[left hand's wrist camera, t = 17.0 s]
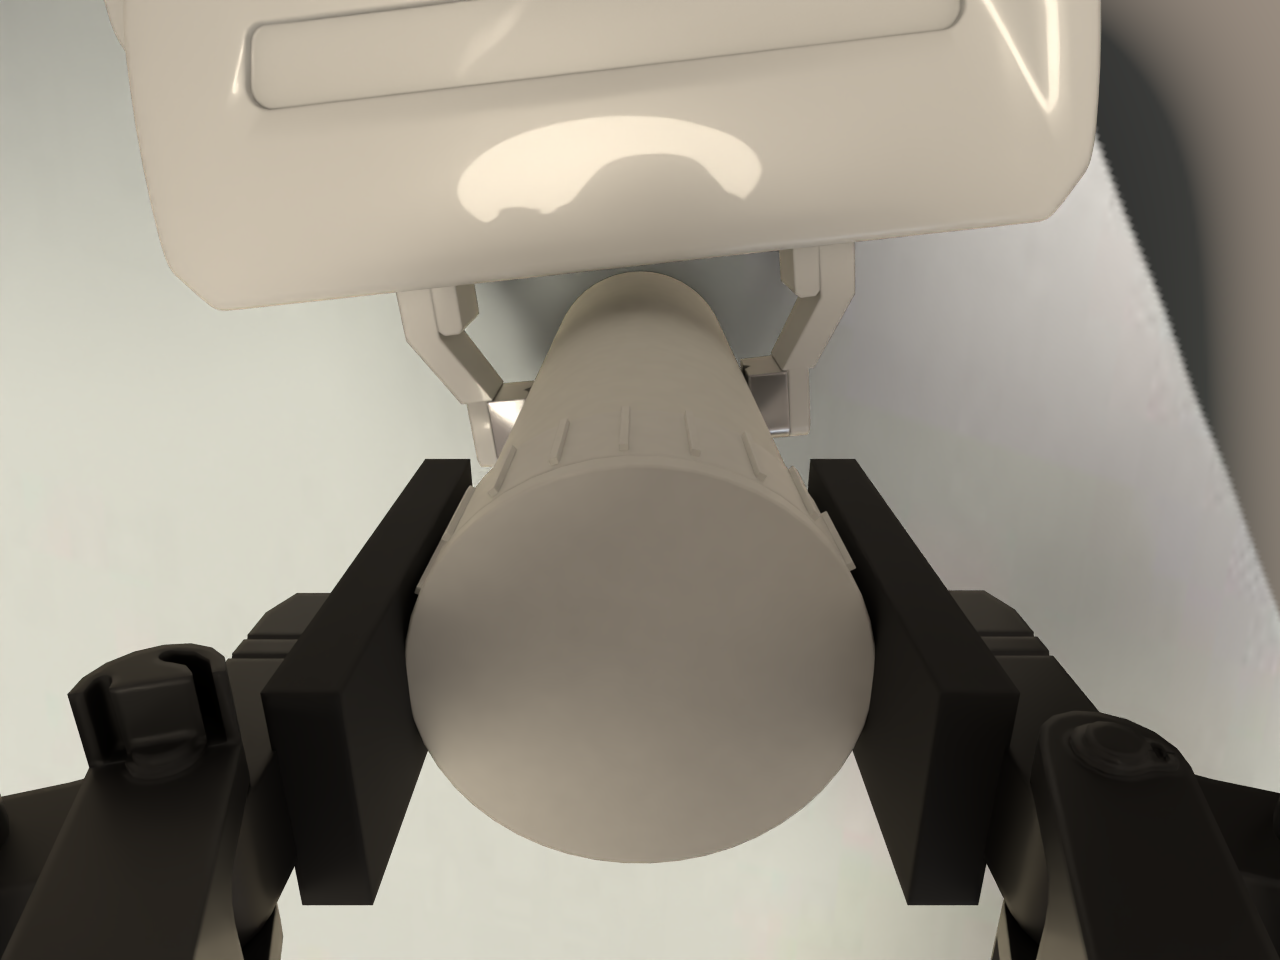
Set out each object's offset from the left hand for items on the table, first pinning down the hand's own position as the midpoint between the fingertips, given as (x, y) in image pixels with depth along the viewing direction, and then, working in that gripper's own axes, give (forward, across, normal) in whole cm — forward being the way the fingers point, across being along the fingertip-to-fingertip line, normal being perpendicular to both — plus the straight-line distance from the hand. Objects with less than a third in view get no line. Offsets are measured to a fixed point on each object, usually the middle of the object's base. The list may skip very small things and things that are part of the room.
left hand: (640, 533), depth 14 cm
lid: (-4, 0, 0) cm, 4 cm away
